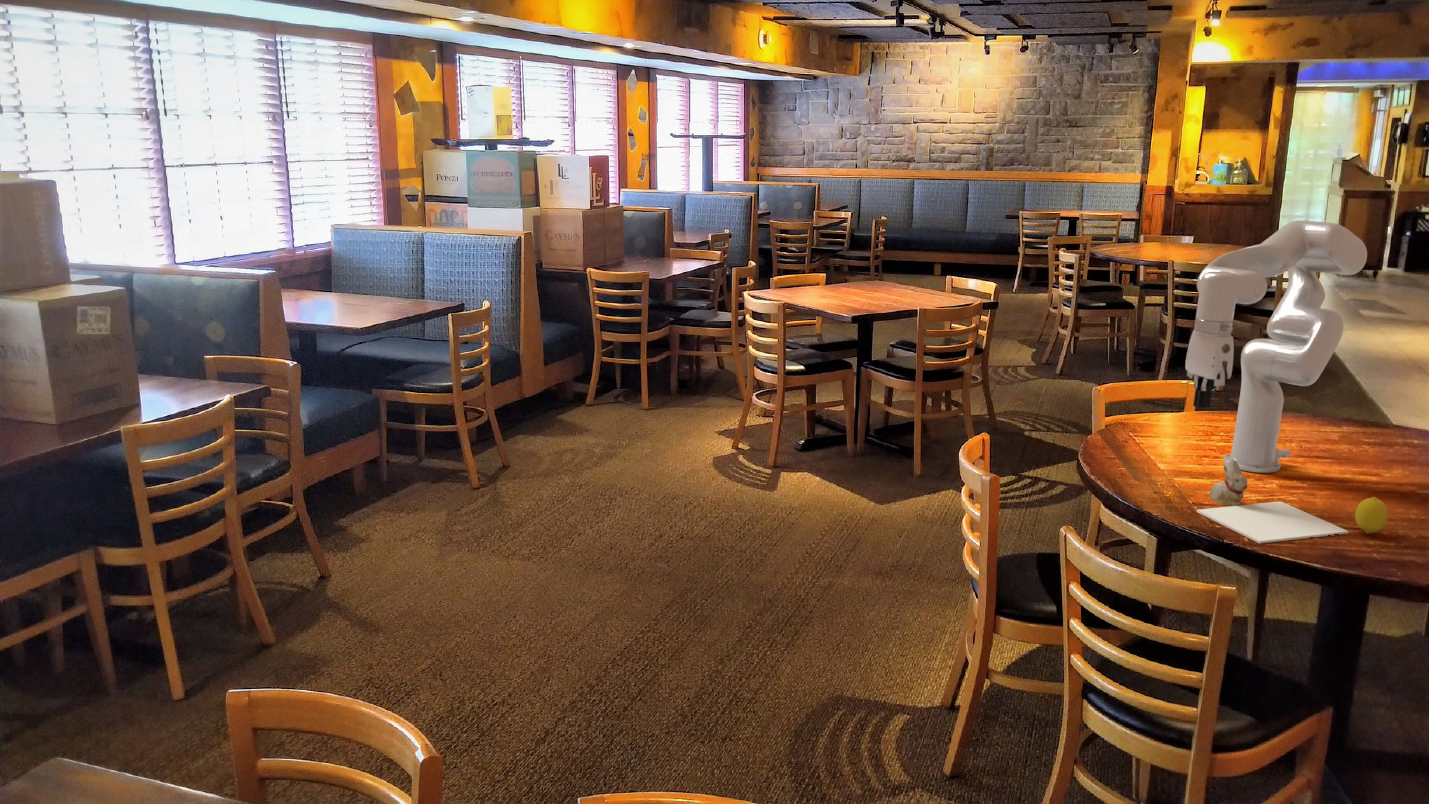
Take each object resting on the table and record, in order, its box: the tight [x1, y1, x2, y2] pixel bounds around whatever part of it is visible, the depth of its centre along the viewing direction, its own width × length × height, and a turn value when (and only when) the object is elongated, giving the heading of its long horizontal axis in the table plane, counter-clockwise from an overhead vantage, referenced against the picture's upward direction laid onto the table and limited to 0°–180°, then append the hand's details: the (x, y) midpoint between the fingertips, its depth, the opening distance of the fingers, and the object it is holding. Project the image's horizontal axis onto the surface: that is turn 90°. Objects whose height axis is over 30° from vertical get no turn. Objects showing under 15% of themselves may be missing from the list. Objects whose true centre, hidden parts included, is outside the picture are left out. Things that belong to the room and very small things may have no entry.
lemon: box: [1354, 496, 1388, 535], centre depth 211 cm, size 6×6×8 cm
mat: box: [1196, 501, 1349, 544], centre depth 217 cm, size 22×18×1 cm
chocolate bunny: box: [1208, 460, 1248, 507], centre depth 228 cm, size 6×8×10 cm
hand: (1201, 406), depth 235 cm, fingers closed
